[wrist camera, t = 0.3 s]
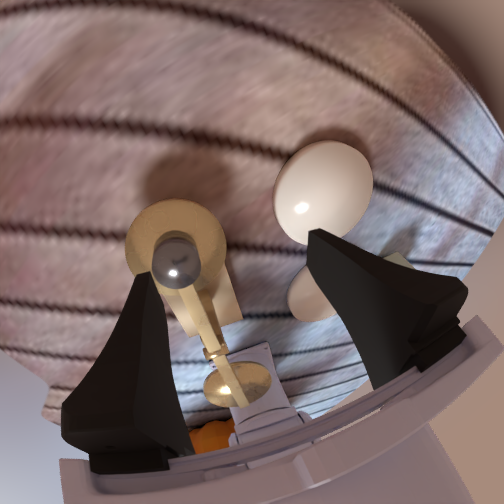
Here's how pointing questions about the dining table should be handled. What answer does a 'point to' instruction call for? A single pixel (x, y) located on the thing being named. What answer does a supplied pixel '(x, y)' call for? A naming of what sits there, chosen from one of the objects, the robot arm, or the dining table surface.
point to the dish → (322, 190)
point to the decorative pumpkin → (212, 436)
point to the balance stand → (210, 305)
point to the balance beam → (193, 286)
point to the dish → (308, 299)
